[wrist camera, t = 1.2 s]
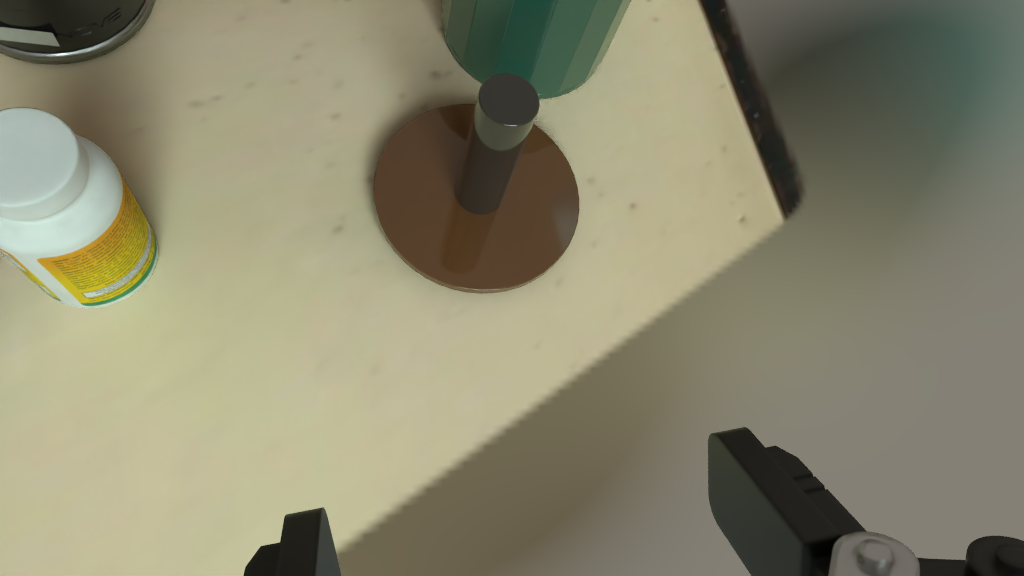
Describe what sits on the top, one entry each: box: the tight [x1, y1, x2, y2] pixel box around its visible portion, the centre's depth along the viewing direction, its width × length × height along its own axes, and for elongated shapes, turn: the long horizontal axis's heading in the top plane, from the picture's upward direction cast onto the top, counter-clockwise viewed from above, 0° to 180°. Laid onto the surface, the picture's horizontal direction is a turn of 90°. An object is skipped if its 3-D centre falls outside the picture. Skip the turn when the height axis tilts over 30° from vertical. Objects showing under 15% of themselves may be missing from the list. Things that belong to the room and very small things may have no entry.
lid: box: [373, 73, 579, 293], centre depth 36 cm, size 11×11×10 cm
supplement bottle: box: [0, 107, 158, 308], centre depth 31 cm, size 5×5×10 cm
